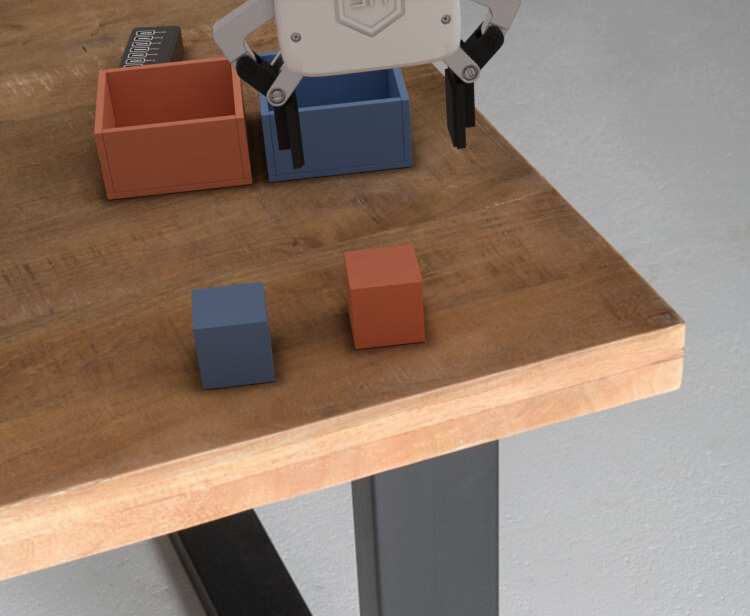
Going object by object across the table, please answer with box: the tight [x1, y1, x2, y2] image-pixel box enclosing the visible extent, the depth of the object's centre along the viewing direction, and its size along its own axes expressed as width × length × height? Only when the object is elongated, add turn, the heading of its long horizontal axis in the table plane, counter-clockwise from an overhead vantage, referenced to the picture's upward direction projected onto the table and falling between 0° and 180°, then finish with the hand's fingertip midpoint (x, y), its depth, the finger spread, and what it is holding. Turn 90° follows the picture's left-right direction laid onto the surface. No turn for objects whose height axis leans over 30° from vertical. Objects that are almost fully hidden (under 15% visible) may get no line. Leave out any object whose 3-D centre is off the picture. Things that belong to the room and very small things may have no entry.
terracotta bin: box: [93, 56, 253, 201], centre depth 111 cm, size 11×11×6 cm
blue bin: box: [255, 50, 414, 183], centre depth 112 cm, size 11×11×6 cm
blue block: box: [191, 281, 276, 391], centre depth 90 cm, size 5×5×5 cm
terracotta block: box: [342, 243, 426, 350], centre depth 92 cm, size 5×5×5 cm
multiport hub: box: [117, 25, 185, 68], centre depth 122 cm, size 4×14×2 cm, turn 178°
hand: (377, 148), depth 85 cm, fingers open, 9 cm apart
